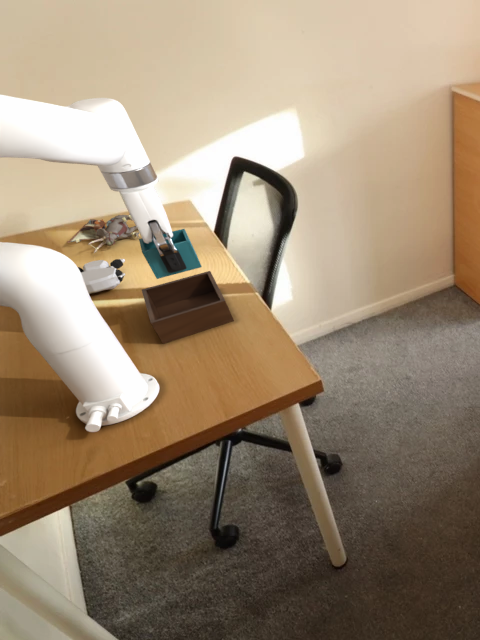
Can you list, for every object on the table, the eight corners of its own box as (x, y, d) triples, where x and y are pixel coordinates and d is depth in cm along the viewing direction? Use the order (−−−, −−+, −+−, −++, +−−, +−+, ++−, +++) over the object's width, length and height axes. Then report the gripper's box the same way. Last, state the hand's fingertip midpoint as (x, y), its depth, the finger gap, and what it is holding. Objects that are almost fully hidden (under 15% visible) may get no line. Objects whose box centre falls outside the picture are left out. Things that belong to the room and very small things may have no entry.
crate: (234, 320, 107) (225, 300, 103) (163, 344, 100) (150, 323, 96) (218, 290, 116) (210, 270, 113) (152, 309, 110) (141, 289, 106)
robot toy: (76, 279, 120) (66, 305, 110) (65, 263, 118) (55, 288, 107) (132, 267, 125) (129, 291, 115) (124, 252, 123) (119, 274, 112)
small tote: (196, 254, 100) (184, 228, 96) (201, 267, 96) (189, 240, 92) (153, 265, 97) (138, 238, 93) (156, 279, 93) (141, 252, 89)
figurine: (122, 234, 127) (49, 242, 123) (134, 253, 131) (63, 262, 127) (141, 201, 141) (75, 207, 137) (151, 219, 145) (88, 226, 141)
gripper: (103, 165, 88) (149, 250, 99) (108, 197, 77) (159, 288, 89) (149, 158, 91) (189, 241, 103) (160, 187, 81) (203, 276, 92)
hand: (175, 262), depth 96 cm, fingers closed on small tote, 6 cm apart
